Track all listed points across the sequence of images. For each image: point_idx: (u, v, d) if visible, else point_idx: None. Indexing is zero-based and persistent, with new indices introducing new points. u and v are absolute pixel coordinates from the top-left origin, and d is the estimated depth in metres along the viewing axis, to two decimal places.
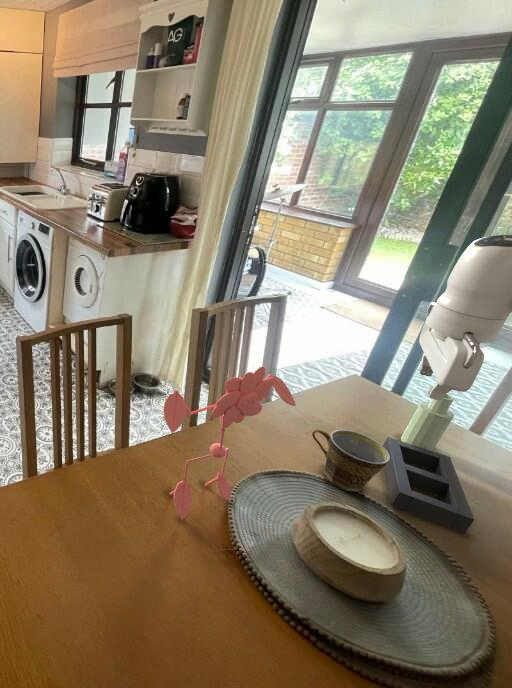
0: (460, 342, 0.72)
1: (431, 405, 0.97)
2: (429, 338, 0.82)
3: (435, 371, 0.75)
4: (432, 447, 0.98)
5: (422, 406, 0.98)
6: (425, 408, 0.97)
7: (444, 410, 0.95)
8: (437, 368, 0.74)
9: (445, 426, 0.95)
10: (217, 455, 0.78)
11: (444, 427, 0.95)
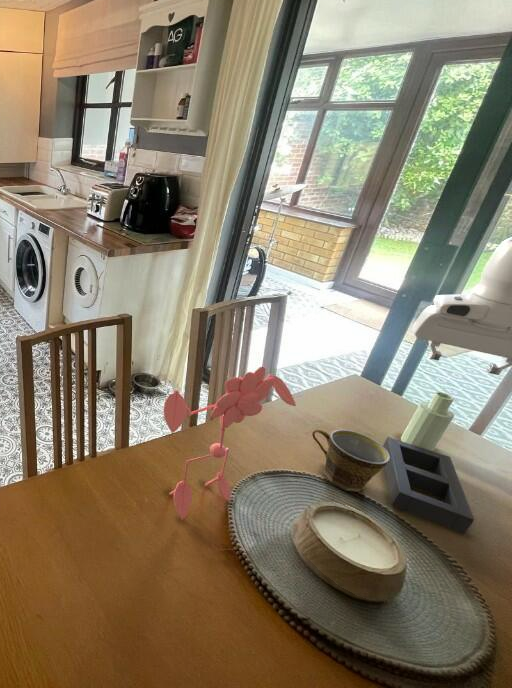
0: None
1: (431, 405, 0.97)
2: (451, 332, 0.89)
3: None
4: (432, 447, 0.98)
5: (422, 406, 0.98)
6: (425, 408, 0.97)
7: (444, 410, 0.95)
8: None
9: (445, 426, 0.95)
10: (217, 455, 0.78)
11: (444, 427, 0.95)
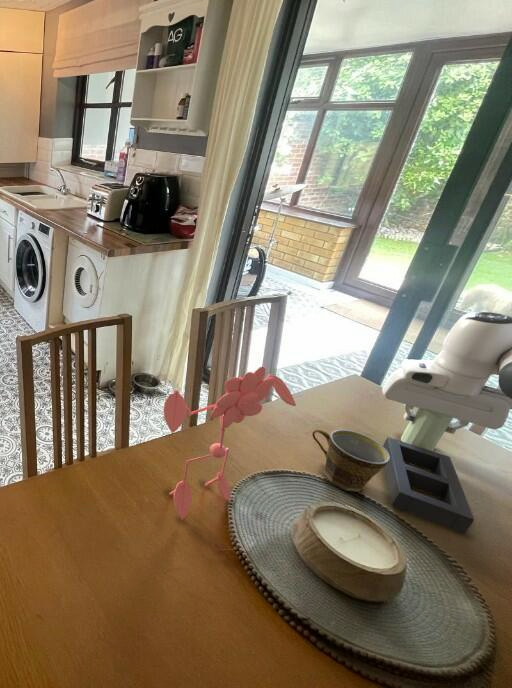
0: (486, 395, 0.90)
1: None
2: (416, 395, 0.97)
3: (473, 420, 0.92)
4: (432, 447, 0.98)
5: None
6: None
7: None
8: (477, 418, 0.92)
9: (445, 426, 0.95)
10: (217, 455, 0.78)
11: (444, 427, 0.95)
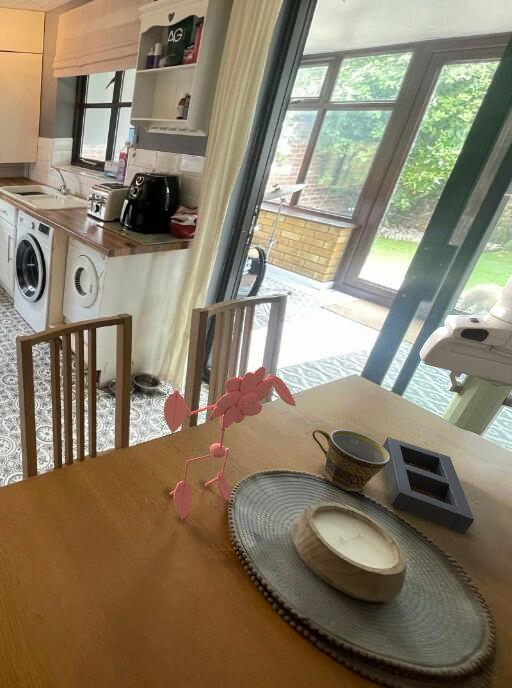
0: None
1: None
2: (466, 359, 0.77)
3: None
4: (485, 425, 0.78)
5: None
6: None
7: None
8: None
9: (503, 397, 0.75)
10: (217, 455, 0.78)
11: (502, 398, 0.75)
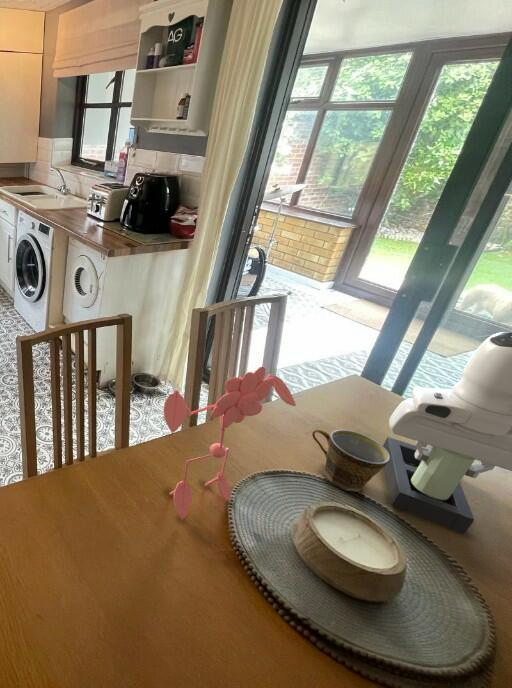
0: None
1: None
2: (431, 431, 0.80)
3: (500, 464, 0.76)
4: (449, 493, 0.82)
5: None
6: None
7: None
8: (505, 461, 0.75)
9: (465, 469, 0.79)
10: (217, 455, 0.78)
11: (464, 470, 0.79)
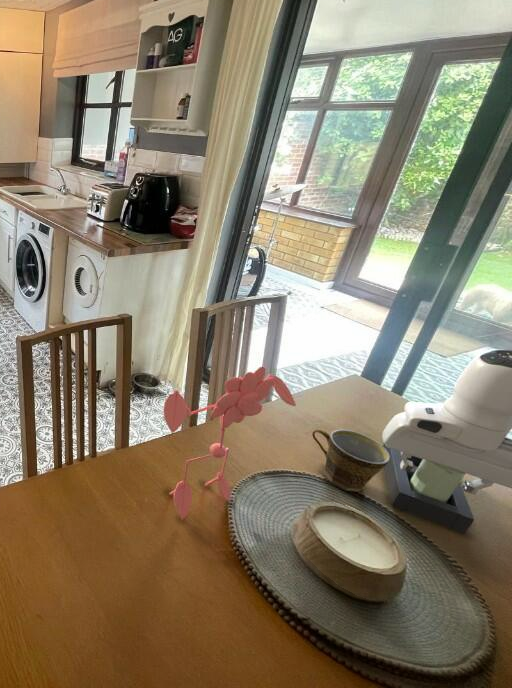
0: (507, 449, 0.75)
1: None
2: (423, 445, 0.82)
3: (491, 478, 0.77)
4: None
5: None
6: None
7: None
8: (495, 476, 0.77)
9: (456, 483, 0.81)
10: (217, 455, 0.78)
11: (455, 484, 0.81)
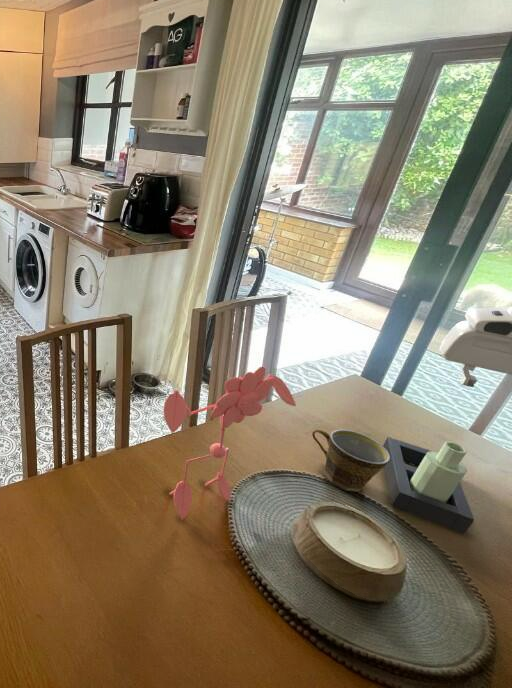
0: None
1: (440, 457, 0.82)
2: (489, 353, 0.74)
3: None
4: None
5: (429, 458, 0.83)
6: (432, 460, 0.82)
7: (455, 464, 0.80)
8: None
9: (456, 483, 0.81)
10: (217, 455, 0.78)
11: (455, 484, 0.81)
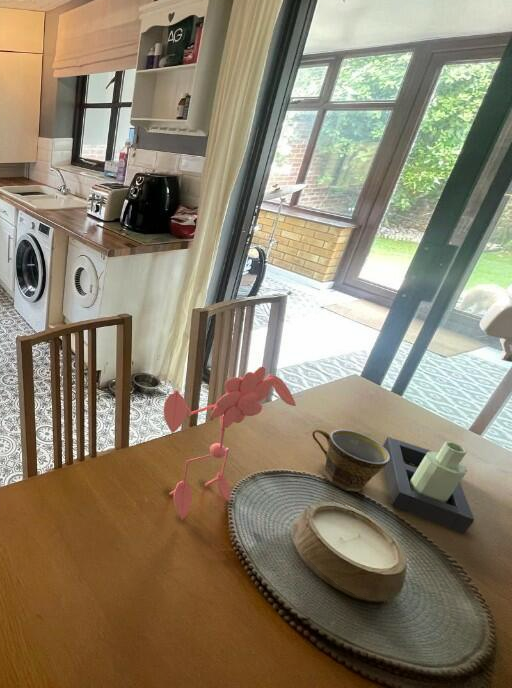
0: None
1: (440, 457, 0.82)
2: None
3: None
4: None
5: (429, 458, 0.83)
6: (432, 460, 0.82)
7: (455, 464, 0.80)
8: None
9: (456, 483, 0.81)
10: (217, 455, 0.78)
11: (455, 484, 0.81)
